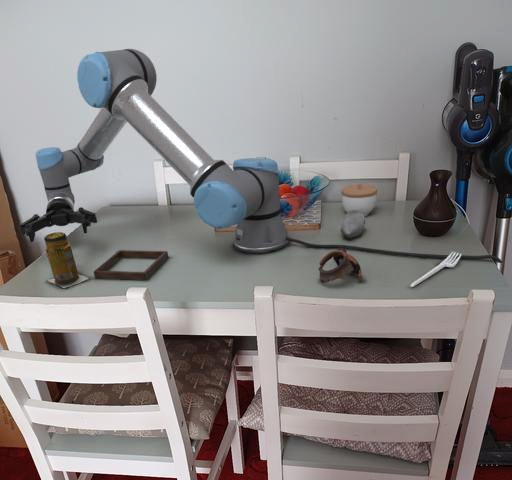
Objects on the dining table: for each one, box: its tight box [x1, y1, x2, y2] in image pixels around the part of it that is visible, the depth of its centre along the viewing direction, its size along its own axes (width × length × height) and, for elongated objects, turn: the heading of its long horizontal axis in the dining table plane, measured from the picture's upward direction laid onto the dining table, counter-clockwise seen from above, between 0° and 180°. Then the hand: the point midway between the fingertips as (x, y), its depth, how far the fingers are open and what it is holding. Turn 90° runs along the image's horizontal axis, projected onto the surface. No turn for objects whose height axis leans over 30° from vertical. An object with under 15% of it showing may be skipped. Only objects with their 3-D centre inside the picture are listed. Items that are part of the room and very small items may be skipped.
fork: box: [410, 251, 463, 288], centre depth 122 cm, size 3×20×2 cm, turn 134°
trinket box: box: [341, 182, 378, 217], centre depth 160 cm, size 11×11×9 cm
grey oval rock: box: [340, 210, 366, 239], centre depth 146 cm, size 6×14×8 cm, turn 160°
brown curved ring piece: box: [318, 248, 364, 283], centre depth 123 cm, size 12×10×8 cm
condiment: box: [43, 231, 90, 289], centre depth 133 cm, size 7×8×12 cm
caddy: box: [93, 249, 169, 281], centre depth 139 cm, size 15×15×2 cm
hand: (57, 232), depth 137 cm, fingers open, 13 cm apart
